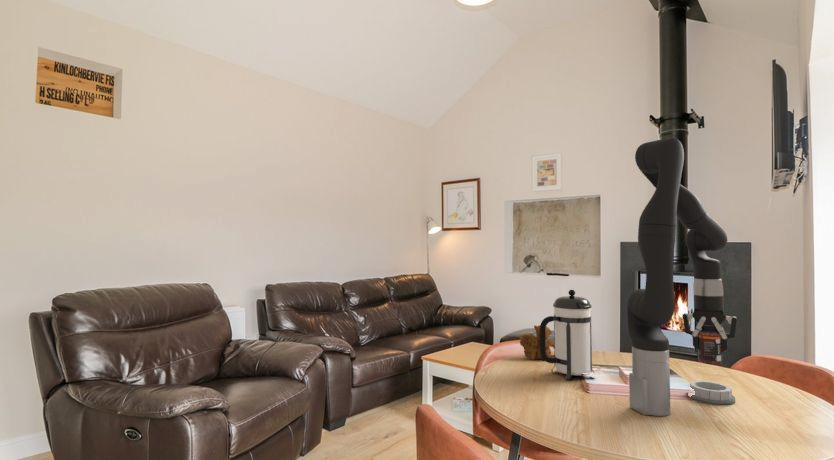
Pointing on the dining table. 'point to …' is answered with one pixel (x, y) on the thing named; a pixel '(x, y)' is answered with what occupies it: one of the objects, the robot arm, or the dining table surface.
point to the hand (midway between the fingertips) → (710, 349)
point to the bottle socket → (712, 393)
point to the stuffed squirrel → (536, 344)
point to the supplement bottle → (710, 345)
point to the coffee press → (570, 336)
